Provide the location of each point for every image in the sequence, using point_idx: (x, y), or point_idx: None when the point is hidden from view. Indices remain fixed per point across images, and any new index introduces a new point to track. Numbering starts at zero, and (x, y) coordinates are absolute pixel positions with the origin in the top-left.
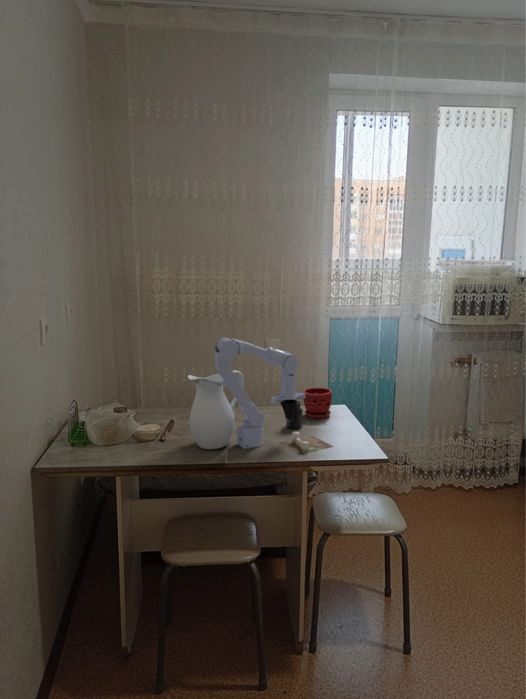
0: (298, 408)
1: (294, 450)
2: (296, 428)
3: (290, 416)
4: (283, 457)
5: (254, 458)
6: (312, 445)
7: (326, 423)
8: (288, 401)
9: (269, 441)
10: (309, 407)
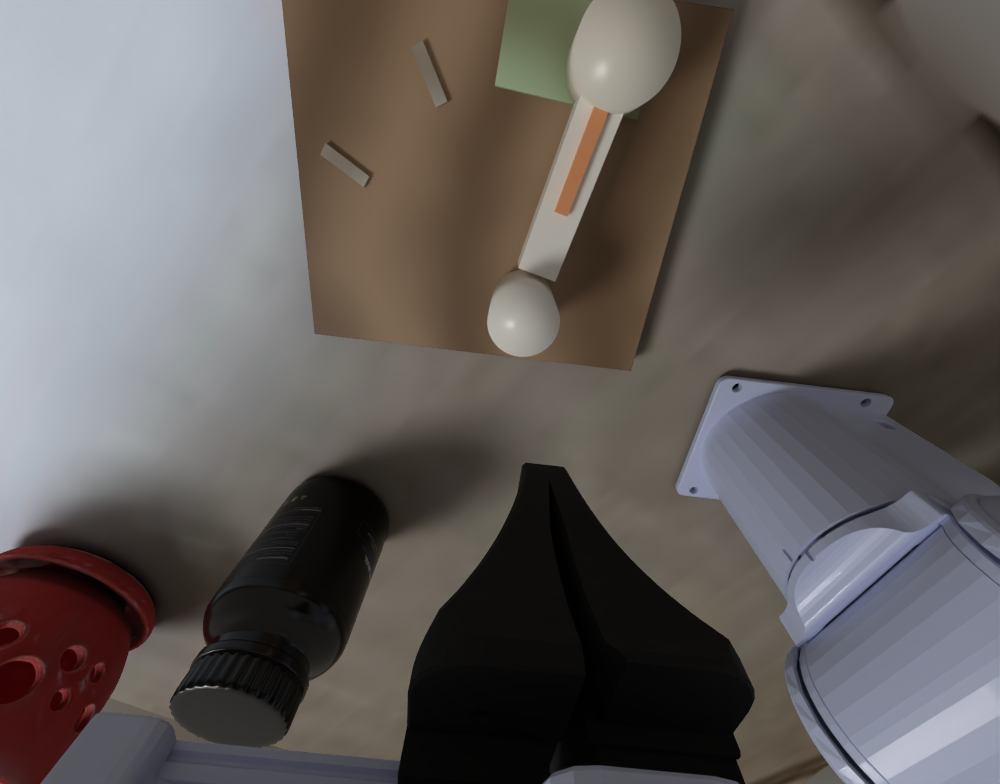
0: (239, 632)
1: (678, 141)
2: (344, 492)
3: (542, 479)
4: (805, 132)
5: (961, 269)
6: (454, 139)
7: (84, 481)
8: (613, 744)
9: (608, 452)
10: (98, 650)
